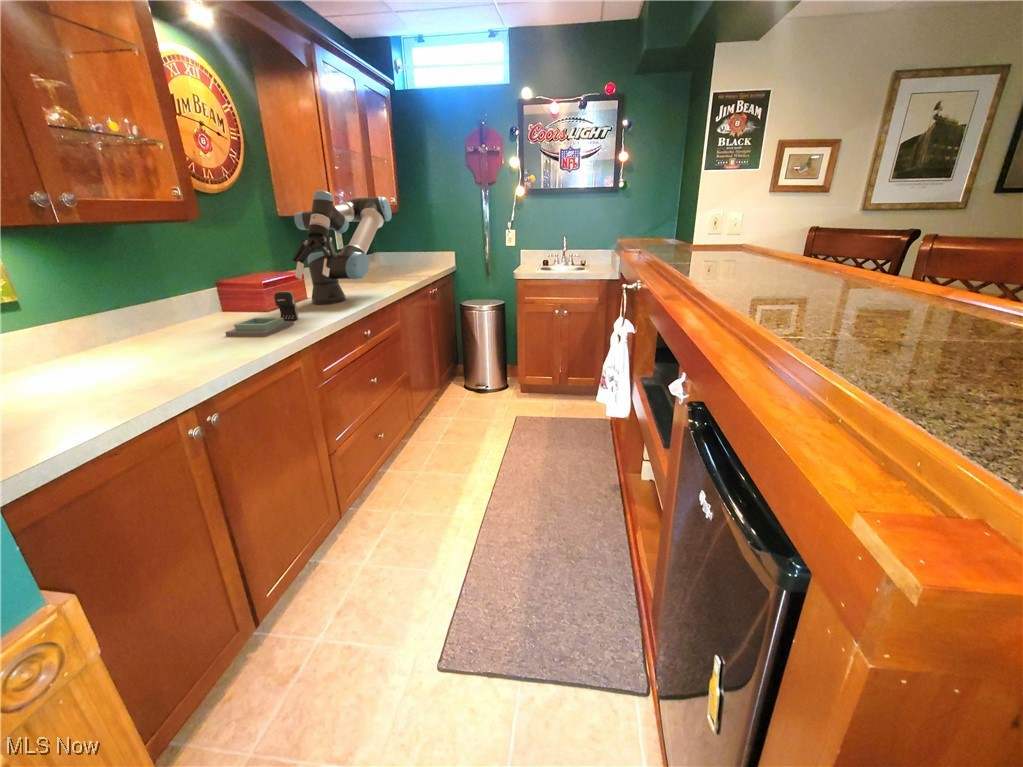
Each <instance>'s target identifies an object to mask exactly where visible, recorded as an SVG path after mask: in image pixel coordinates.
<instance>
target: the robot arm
mask: <svg viewBox="0 0 1023 767" xmlns="http://www.w3.org/2000/svg"><path fill="white" fill-rule="evenodd" d="M390 204H391V203H390V202H389V200H388V198H386V197H385V196H372V197H371V196H370V197H356V198H352V199H349V200H346V201H345V200H344V201H341V202H339V203H338V204H337V205H334V196H333V194H331V193H330V192H329V191H326V190H316V191H315V192H314V195H313V199H312V206H311V207H312V208H311V210H309V211H299V212H296V213H295V214H294V224H295V226H296V227H297V229H299V230H300V231H301V230H302V231H307V234H308V239H307V240H306V239H304V238H303V239H301V243H300V245H299V246H298V248H297V250H296V252H295V254H294V256H293V257H292V261H293V262H294V263H295V264H296V265H295V274H294V275H295V276H294V277H295V278H297V279H299V280H302V278H303V274H304V266H305V264H304V262H305V261H306V260H307V265H308V269H309V275H310V278H311V283H312V292H311V303H312V304H314V305H332V304H337V303H341V302H344V301H346V300H347V298H346V294H345V292H344V290H343V289H342V286H341V285H340V282H339V280H358V279H359V280H360V279H363V278H365V277H366V276H367V274H368V273H369V269H370V267H369V266H370V261H369V257H368V255H367V252H368V251H369V248H370V246H371V245H372V244H371V243H372V242H373V240H374V237H375V235H376V232H377V231H378V229H380V228H382V227H383V225H384V223H385V222H390V221H391V219H392V217H393V216H392V214H393V213H392V208H391V205H390ZM349 222H351V223H352V222H359V223H358V225H357V228H356V229H355V231H354V233H353V234H352V238H351V239H350V241H349V243H348V244H347V245H344V246H343V247H342V249H341V251H340V252H336V250H335V246H334V239H333V238H332V237H330V236H329V234H330V231H329V230H333V231H334V232H336V233H338V234H343V233H345V232H347V231H348V229H349V226H350V223H349ZM314 251H317V252H314ZM318 251H319V252H318Z"/></svg>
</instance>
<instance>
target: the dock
mask: <svg viewBox="0 0 1023 767" xmlns="http://www.w3.org/2000/svg"><path fill="white" fill-rule="evenodd" d="M294 321H295V320H293V321H284V318H281V317H252V318H249V319H247V320H244V321H241V322H237V323H235V324H233V326H234V328H232V329H230V330H227V331H224V332H225V336H226V337H268V336H271V335H273V334H275V333H279V332H281V331H283V330H285V329H288V328H290V327H292V325H293V326H294V325H295V323H294Z"/></svg>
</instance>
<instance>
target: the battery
mask: <svg viewBox="0 0 1023 767" xmlns="http://www.w3.org/2000/svg"><path fill="white" fill-rule="evenodd" d="M273 296H274V297H273V298H274V302H275V306H276V307H278V309H279V312H280V318H284V321H296V320H299V318H300V317H299V313H298V310H297V303H296V299H295V295H294V293H293V292H291V291H284V290H283V291H282V290H281V291H278V292H275V293H274V295H273Z"/></svg>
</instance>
